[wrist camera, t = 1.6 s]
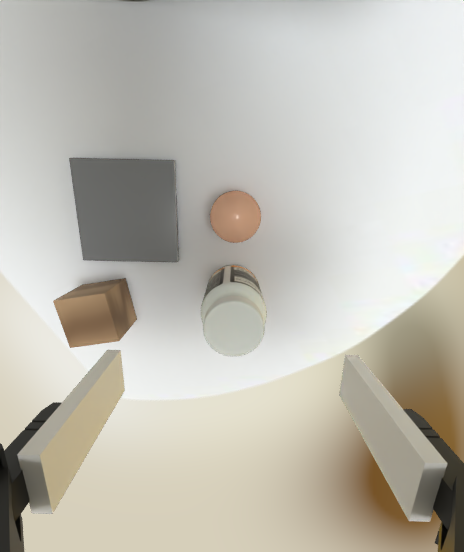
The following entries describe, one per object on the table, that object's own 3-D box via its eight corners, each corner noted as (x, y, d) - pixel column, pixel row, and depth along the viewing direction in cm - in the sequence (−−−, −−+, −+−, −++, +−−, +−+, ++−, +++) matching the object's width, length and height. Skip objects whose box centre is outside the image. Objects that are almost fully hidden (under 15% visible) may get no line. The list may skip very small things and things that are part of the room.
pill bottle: (219, 318, 30) (212, 372, 21) (200, 273, 29) (183, 310, 19) (266, 302, 30) (281, 350, 20) (248, 255, 28) (256, 283, 19)
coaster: (72, 158, 26) (69, 157, 25) (175, 161, 26) (173, 160, 25) (86, 259, 28) (83, 260, 28) (178, 261, 28) (177, 262, 28)
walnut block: (82, 284, 29) (53, 300, 25) (125, 278, 29) (104, 293, 24) (95, 324, 31) (70, 347, 26) (137, 318, 31) (119, 340, 26)
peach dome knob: (213, 192, 27) (209, 190, 22) (257, 192, 27) (262, 191, 22) (213, 235, 28) (210, 242, 23) (255, 236, 28) (259, 243, 23)
